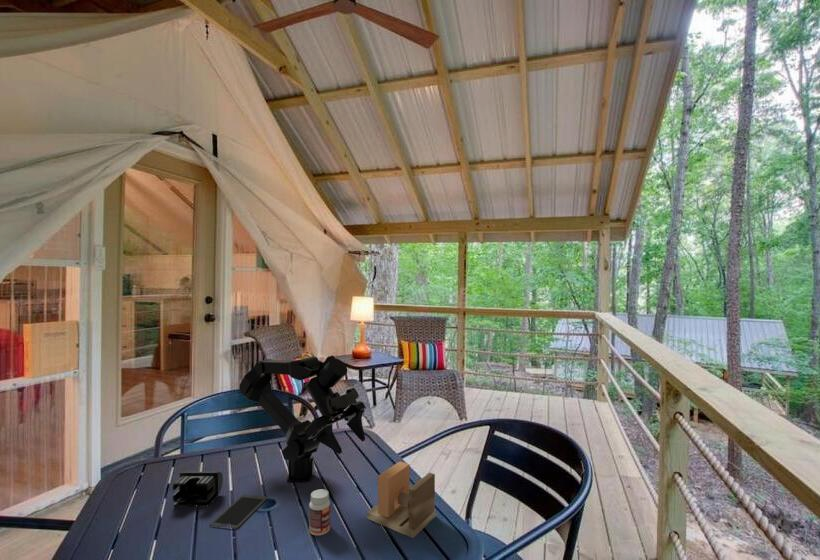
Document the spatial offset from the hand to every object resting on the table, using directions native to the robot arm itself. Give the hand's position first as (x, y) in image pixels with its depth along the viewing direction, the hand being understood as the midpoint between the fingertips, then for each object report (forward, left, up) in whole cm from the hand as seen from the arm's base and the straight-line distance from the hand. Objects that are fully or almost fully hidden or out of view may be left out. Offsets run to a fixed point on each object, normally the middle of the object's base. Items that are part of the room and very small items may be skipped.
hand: (352, 446), depth 108 cm
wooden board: (+11, -8, -11) cm, 18 cm away
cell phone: (-27, -6, -14) cm, 31 cm away
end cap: (-40, 0, -14) cm, 42 cm away
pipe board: (+13, -9, -13) cm, 21 cm away
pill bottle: (-6, -14, -14) cm, 20 cm away
